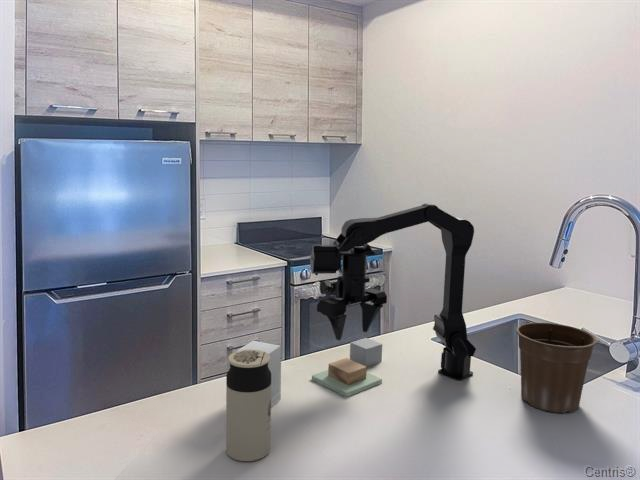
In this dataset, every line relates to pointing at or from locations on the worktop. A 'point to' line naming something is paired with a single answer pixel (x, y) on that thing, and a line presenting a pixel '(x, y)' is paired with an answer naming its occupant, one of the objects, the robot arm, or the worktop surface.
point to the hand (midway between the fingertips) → (351, 335)
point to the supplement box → (270, 366)
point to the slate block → (366, 352)
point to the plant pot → (553, 365)
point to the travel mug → (248, 405)
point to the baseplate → (344, 388)
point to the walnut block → (347, 371)
